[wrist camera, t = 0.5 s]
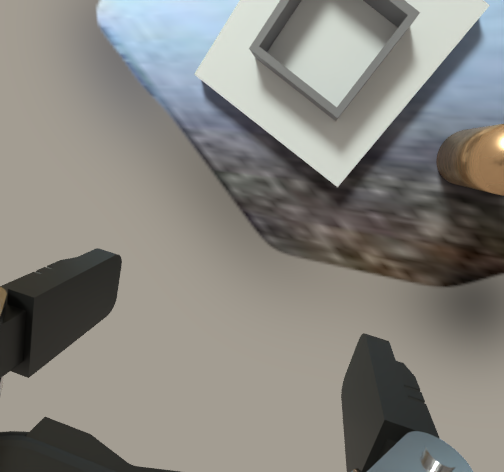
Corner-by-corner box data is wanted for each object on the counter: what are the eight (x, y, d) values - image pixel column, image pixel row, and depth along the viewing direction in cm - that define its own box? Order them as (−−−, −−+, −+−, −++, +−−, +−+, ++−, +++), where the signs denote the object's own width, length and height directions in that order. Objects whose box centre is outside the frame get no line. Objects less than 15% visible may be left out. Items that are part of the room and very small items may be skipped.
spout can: (465, 117, 31) (540, 100, 21) (509, 152, 31) (606, 152, 21) (424, 163, 33) (474, 168, 22) (466, 196, 33) (536, 216, 22)
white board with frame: (319, -111, 30) (319, -162, 25) (478, 14, 30) (509, -12, 25) (201, 78, 35) (182, 66, 30) (336, 185, 35) (339, 190, 30)
